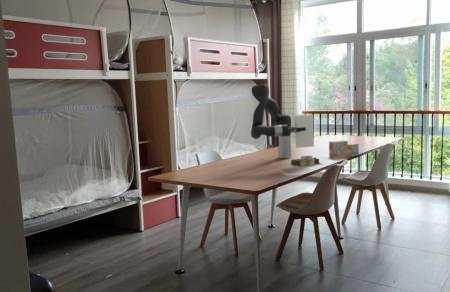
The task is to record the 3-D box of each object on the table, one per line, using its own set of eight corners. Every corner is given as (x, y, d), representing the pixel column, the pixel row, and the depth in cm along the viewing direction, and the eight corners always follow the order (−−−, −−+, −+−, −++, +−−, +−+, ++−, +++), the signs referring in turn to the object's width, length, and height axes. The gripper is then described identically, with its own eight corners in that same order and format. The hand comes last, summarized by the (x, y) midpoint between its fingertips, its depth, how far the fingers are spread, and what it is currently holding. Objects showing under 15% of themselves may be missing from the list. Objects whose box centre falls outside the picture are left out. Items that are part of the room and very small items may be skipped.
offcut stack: (302, 166, 293) (301, 157, 292) (299, 164, 297) (299, 156, 297) (314, 165, 294) (314, 156, 293) (312, 163, 299) (312, 155, 298)
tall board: (297, 147, 298) (296, 115, 295) (295, 147, 301) (294, 115, 298) (313, 146, 299) (313, 114, 296) (312, 145, 302) (311, 114, 299)
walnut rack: (295, 168, 292) (294, 162, 291) (289, 166, 304) (289, 159, 303) (323, 166, 295) (323, 160, 294) (317, 163, 307) (317, 157, 306)
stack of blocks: (354, 154, 336) (354, 139, 335) (358, 156, 330) (358, 139, 329) (329, 157, 331) (328, 141, 330) (333, 158, 325) (332, 142, 324)
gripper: (283, 125, 289) (308, 124, 291) (277, 124, 302) (301, 122, 305) (283, 137, 290) (308, 135, 292) (277, 134, 303) (301, 133, 306)
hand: (304, 128), depth 298 cm, fingers closed on tall board, 3 cm apart
